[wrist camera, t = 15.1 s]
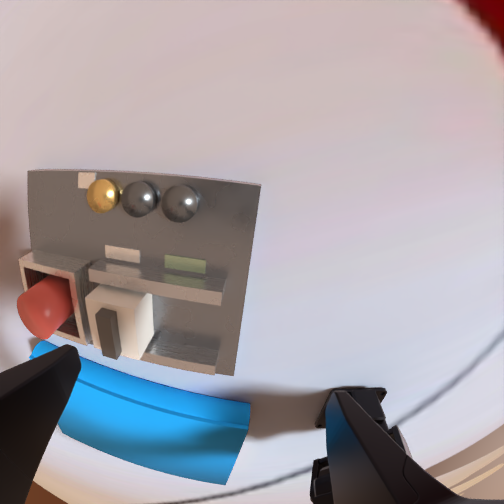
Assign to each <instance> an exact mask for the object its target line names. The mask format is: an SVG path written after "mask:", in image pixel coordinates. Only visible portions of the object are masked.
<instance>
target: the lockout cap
mask: <svg viewBox="0 0 504 504" xmlns="http://www.w3.org/2000/svg"><path fill="white" fill-rule="evenodd" d="M17 309H18V313H19V315H20V318H21V320H22V322H23V323H24V325H25V326H26V328H27V329H28V330H29V331H30V332H31V333H32V334H33V335H35V336H36V337H38V338H40V339H48V338H49V337H50V336H51V335H52V334H53V333H54V332H55V331H56V330H57V329H58V328H59V327H60V326H61V325H62V324H63V323H64V322H65V321H66V320H67V319H68V318H69V317H70V316H71V315H72V314H73V313H74V307H73V302H72V296H71V290H70V283H69V279H67V278H63V277H59V276H55V275H52V274H50V275H48V276H47V277H45V278H44V279H43V280H41V281H40V282H38V283H37V284H35V285H34V286H33V287H31V288H30V289H29V290H27V291H26V292H25V293H23V294H22V295H20V296H19V298H18V300H17Z"/></svg>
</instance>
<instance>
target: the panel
mask: <svg viewBox="0 0 504 504" xmlns="http://www.w3.org/2000/svg"><path fill="white" fill-rule="evenodd" d="M260 189H261V184H255V183H248V182H240V181H232V180H224V179H215V178H206V177H197V176H186V175H175V174H163V173H150V172H134V171H114V170H83V169H38V170H31V171H28V214H29V228H30V239H31V248H32V252H30V253H28V254H26V255H25V256H23V257H21V258H19V259H18V260H19V266H20V271H21V277H22V282H23V287H24V291H25V292H26V291H27V290H29V289H30V288H31V287H33V286H34V285H35V284H37V283H38V282H40V281H41V280H43V279H44V278H45V277H47V276H48V275H50V274H52V275H55V276H59V277H63V278H67V279H69V283H70V290H71V296H72V302H73V307H74V313H73V314H72V315H71V316H70V317H69V318H68V319H67V320H66V321H65V322H64V323H63V324H62V325H61V326H60V327H59V328H58V329H57V330H56V331H55V332H54V333H53V334H55V335H58V336H60V337H63V338H66V339H69V340H71V341H74V342H77V343H80V344H83V345H86V346H87V345H88V344H89V343H90V344H93V340H92V335H91V330H90V325H89V319H88V314H87V308H86V302H85V297H86V296H87V295H88V294H90V293H91V292H92V291H93V290H94V289H95V288H96V287H97V286H98V285H99V284H105V285H110V286H114V287H119V288H124V289H128V290H133V291H138V292H143V293H149V294H152V304H153V326H154V335H153V337H152V339H151V340H150V342H149V344H148V346H147V348H146V349H145V351H144V353H143V355H142V357H141V359H140V360H142V361H146V362H150V363H155V364H159V365H163V366H168V367H173V368H177V369H182V370H187V371H193V372H198V373H204V374H210V375H215V373H216V374H223V375H230V376H234V370H235V363H236V356H237V349H238V342H239V335H240V328H241V321H242V314H243V307H244V300H245V293H246V286H247V279H248V272H249V265H250V259H251V252H252V245H253V238H254V231H255V224H256V217H257V210H258V203H259V196H260ZM93 345H94V344H93Z"/></svg>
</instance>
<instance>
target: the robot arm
mask: <svg viewBox="0 0 504 504" xmlns="http://www.w3.org/2000/svg"><path fill="white" fill-rule="evenodd" d="M80 371H81V361H80V357H79V354H78V350H77V348H76V347H74V346H71V345H68V344H66V345H63V346H61V347H59V348H56V349H54V350H52V351H50V352H47V353H45V354H43V355H40V356H38V357H36V358H34V359H31V360H29V361H27V362H24V363H22V364H20V365H17V366H15V367H13V368H10V369H8V370H6V371H3V372H1V373H0V504H25V501H26V498H27V495H28V492H29V489H30V487H31V484H32V481H33V479H34V476H35V473H36V471H37V468H38V466H39V464H40V461H41V459H42V456H43V454H44V452H45V449H46V447H47V445H48V443H49V440H50V438H51V436H52V434H53V432H54V430H55V428H56V425H57V423H58V421H59V419H60V417H61V415H62V413H63V411H64V409H65V407H66V405H67V403H68V401H69V398H70V396H71V393H72V391H73V388H74V386H75V383H76V380H77V378H78V375H79V373H80ZM386 394H387V391H386V389H385V388H377V389H334V390H332V391H331V392H330V394H329V397H328V399H327V401H326V403H325V405H324V407H323V409H322V411H321V413H320V415H319V417H318V419H317V421H316V423H315V427H316V428H326V447H327V457H324V458H321V459H316V460H314V462H313V468H312V478H311V487H310V499H311V501H312V502H313V504H504V500H484V499H483V500H482V499H468V498H464V497H461V496H459V495H457V494H456V493H454V492H453V491H451V490H450V489H448V488H447V487H446V486H444V485H443V484H442V483H440V482H439V481H438V480H436V479H435V478H434V477H432V476H431V475H430V474H428V473H427V472H426V471H425V470H424V469H423V468H421V467H420V466H419V465H418V464H417V463H416V462H415V461H414V460H413V459H412V456H411V453H410V450H409V448H408V446H407V443H406V441H405V439H404V437H403V435H402V433H401V431H400V430H399V428H398V426H397V425H395V426H393V427H392V428H391V429H388V426H387V423H386V421H385V418H386V417H385V414H384V412H383V409H382V407H381V402H382V400H383V399H384V397H385V395H386Z"/></svg>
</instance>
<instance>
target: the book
mask: <svg viewBox="0 0 504 504" xmlns="http://www.w3.org/2000/svg"><path fill="white" fill-rule="evenodd" d="M56 348H59V347H57V346H55V345H53V344H51V343H49V342H47V341H45V340H44V341H41V342H39V343H38V344H37V345H36V346H35V348H34V349H33V352H32V354H31V356H30V357H29V358H30V360H31V359H34V358H36V357H38V356H40V355H43V354H45V353H47V352H50V351H52V350H54V349H56ZM79 357H80V356H79ZM80 361H81V371H80V373H79V375H78V378H77V380H76V383H75V386H74V388H73V391H72V393H71V396H70V398H69V401H68V403H67V405H66V407H65V409H64V411H63V413H62V415H61V417H60V419H59V421H58V425H59V427H60V429H61V431H62V433H64V434H66V435H67V436H69V437H71V438H73V439H76V440H78V441H80V442H82V443H84V444H86V445H88V446H91V447H93V448H95V449H97V450H100V451H102V452H105V453H107V454H110V455H112V456H115V457H117V458H120V459H123V460H125V461H128V462H131V463H134V464H137V465H140V466H143V467H147V468H150V469H153V470H157V471H160V472H164V473H168V474H171V475H175V476H180V477H184V478H188V479H193V480H198V481H203V482H209V483H215V484H221V485H226V482H227V480H228V478H229V476H230V473H231V471H232V469H233V466H234V464H235V461H236V459H237V457H238V454H239V452H240V449H241V447H242V444H243V442H244V439H245V437H246V434H247V432H248V428H249V420H250V403H244V402H238V401H232V400H226V399H221V398H216V397H211V396H206V395H201V394H197V393H193V392H188V391H184V390H180V389H176V388H172V387H169V386H165V385H161V384H158V383H154V382H151V381H147V380H144V379H141V378H138V377H134V376H131V375H128V374H125V373H122V372H119V371H117V370H114V369H111V368H108V367H105V366H103V365H100V364H97V363H95V362H92V361H90V360H87V359H85V358H82V357H80Z"/></svg>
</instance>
